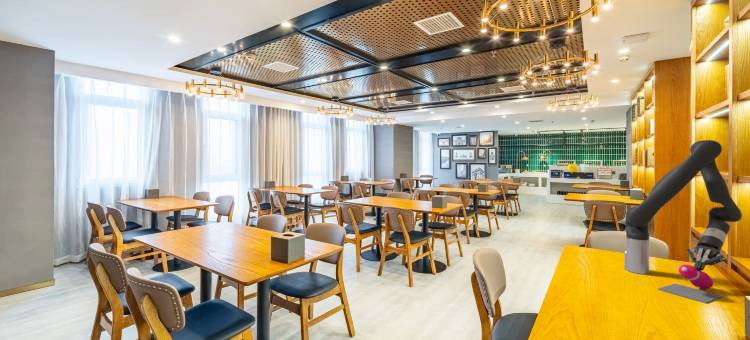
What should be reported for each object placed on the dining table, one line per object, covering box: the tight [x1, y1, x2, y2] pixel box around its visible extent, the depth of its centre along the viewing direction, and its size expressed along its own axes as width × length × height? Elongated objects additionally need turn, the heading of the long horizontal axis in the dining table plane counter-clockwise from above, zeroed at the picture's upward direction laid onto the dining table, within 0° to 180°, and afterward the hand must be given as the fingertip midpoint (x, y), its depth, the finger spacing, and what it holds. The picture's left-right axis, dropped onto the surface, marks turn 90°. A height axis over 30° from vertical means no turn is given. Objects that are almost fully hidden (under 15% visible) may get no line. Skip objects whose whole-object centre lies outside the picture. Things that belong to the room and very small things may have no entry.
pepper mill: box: [678, 263, 714, 290], centre depth 142 cm, size 7×7×20 cm
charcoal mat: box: [658, 283, 724, 304], centre depth 141 cm, size 16×14×1 cm
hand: (697, 269), depth 144 cm, fingers closed
